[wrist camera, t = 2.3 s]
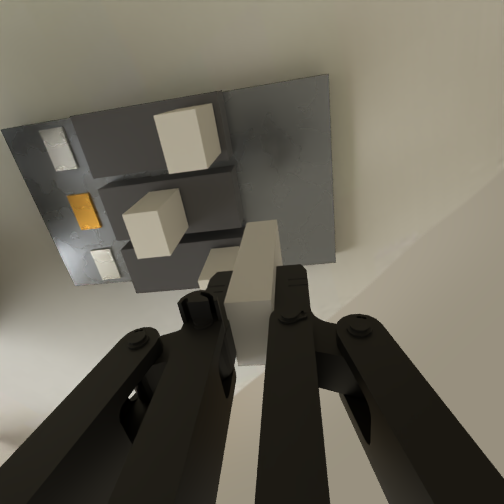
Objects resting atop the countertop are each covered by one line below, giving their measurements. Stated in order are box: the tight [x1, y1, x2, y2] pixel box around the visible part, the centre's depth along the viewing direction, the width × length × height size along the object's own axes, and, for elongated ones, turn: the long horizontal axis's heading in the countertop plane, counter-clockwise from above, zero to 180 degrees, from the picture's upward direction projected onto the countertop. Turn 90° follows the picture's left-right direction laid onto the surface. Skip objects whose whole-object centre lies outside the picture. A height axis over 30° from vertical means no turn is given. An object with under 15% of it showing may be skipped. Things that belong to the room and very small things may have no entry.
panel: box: [1, 74, 336, 286], centre depth 26 cm, size 24×14×2 cm, turn 98°
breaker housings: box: [70, 90, 245, 293], centre depth 23 cm, size 10×14×7 cm
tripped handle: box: [122, 188, 189, 259], centre depth 22 cm, size 2×3×4 cm
